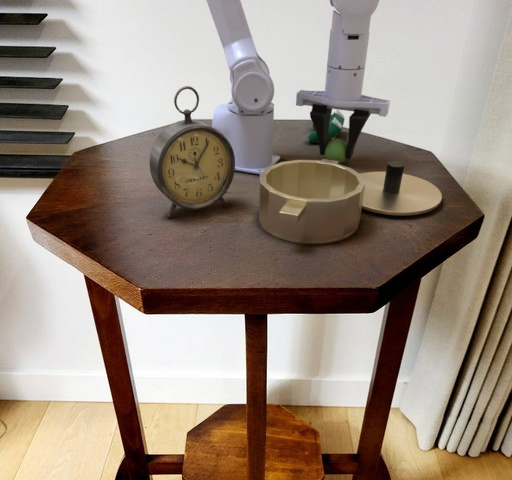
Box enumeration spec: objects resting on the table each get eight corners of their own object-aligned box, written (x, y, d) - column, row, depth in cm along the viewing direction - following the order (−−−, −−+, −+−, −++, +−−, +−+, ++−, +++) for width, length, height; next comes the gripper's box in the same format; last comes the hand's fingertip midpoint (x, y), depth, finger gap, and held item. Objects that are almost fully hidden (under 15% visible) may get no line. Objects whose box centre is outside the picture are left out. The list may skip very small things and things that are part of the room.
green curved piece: (318, 155, 99) (345, 133, 96) (305, 138, 98) (331, 116, 94) (323, 138, 106) (348, 118, 103) (311, 123, 105) (336, 101, 101)
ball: (320, 165, 90) (322, 141, 88) (326, 157, 93) (329, 134, 91) (343, 169, 89) (346, 145, 87) (349, 161, 92) (352, 137, 90)
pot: (236, 241, 70) (235, 198, 66) (284, 186, 83) (286, 148, 80) (339, 262, 66) (344, 218, 62) (371, 201, 80) (377, 161, 76)
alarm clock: (164, 224, 73) (151, 96, 63) (151, 208, 77) (136, 85, 66) (237, 209, 77) (236, 86, 67) (221, 194, 81) (218, 76, 70)
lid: (329, 208, 77) (333, 174, 74) (353, 172, 88) (357, 141, 85) (433, 227, 73) (442, 191, 70) (445, 187, 84) (453, 154, 81)
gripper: (398, 64, 83) (384, 153, 91) (307, 55, 87) (302, 141, 95) (390, 75, 77) (375, 168, 86) (294, 65, 81) (289, 154, 90)
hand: (336, 155), depth 90 cm, fingers closed on ball, 4 cm apart
